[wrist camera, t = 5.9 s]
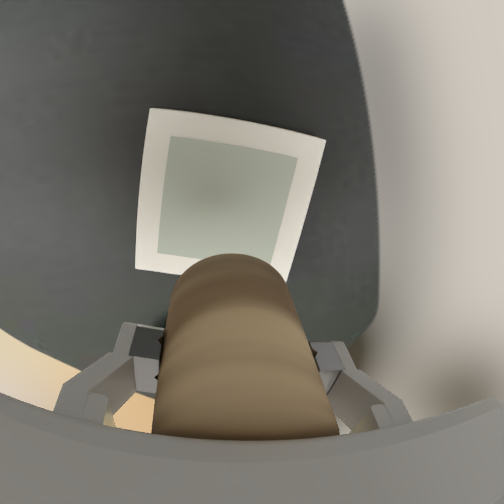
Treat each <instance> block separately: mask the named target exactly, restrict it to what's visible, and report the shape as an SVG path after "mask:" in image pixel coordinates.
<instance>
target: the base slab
mask: <svg viewBox="0 0 504 504" xmlns="http://www.w3.org/2000/svg"><path fill="white" fill-rule="evenodd" d="M325 143H326V140H324V139H321V138H318V137H315V136H311V135H308V134H304V133H300V132H296V131H291V130H287V129H283V128H278V127H274V126H269V125H265V124H260V123H255V122H250V121H245V120H239V119H234V118H228V117H222V116H216V115H209V114H203V113H196V112H188V111H180V110H172V109H162V108H150V111H149V117H148V123H147V130H146V137H145V144H144V152H143V160H142V169H141V179H140V189H139V201H138V215H137V232H136V257H135V269H142V270H149V271H156V272H163V273H170V274H178V275H182V274H183V273H184V272H185V271H186V270H187V269H188V268H189V267H190V266H192V265H193V264H195V263H197V262H198V261H200V260H203V259H205V258H207V257H211V256H214V255H219V254H228V253H236V254H245V255H250V256H253V257H256V258H259V259H261V260H263V261H265V262H267V263H268V264H270V265H271V266H272V267H274V268H275V269H276V270H277V271H278V272H279V273H280V275H281V276H282V277H283V279H284V281H285V282H286V281H287V278H288V274H289V271H290V268H291V264H292V261H293V258H294V255H295V251H296V248H297V244H298V241H299V238H300V234H301V231H302V227H303V224H304V220H305V217H306V213H307V210H308V206H309V203H310V199H311V196H312V192H313V188H314V185H315V181H316V177H317V174H318V170H319V166H320V163H321V159H322V155H323V151H324V147H325Z"/></svg>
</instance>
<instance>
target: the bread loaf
mask: <svg viewBox="0 0 504 504" xmlns="http://www.w3.org/2000/svg"><path fill="white" fill-rule="evenodd" d="M151 434H159V435H167V436H175V437H185V438H197V439H212V440H240V441H264V440H291V439H305V438H317V437H327V436H336V435H339V428H338V425H337V422H336V419H335V417H334V413H333V410H332V408H331V405H330V402H329V399H328V396H327V393H326V391H325V388H324V385H323V382H322V379H321V377H320V374H319V371H318V368H317V366H316V363H315V360H314V357H313V355H312V352H311V349H310V346H309V344H308V341H307V338H306V335H305V333H304V330H303V327H302V325H301V322H300V319H299V317H298V314H297V311H296V308H295V306H294V303H293V300H292V298H291V295H290V292H289V290H288V287H287V285H286V282H285V281H284V279H283V277H282V276H281V275H280V273H279V272H278V271H277V270H276V269H275V268H274V267H272V266H271V265H270V264H268V263H267V262H265V261H263V260H261V259H259V258H256V257H253V256H250V255H245V254H236V253H228V254H219V255H214V256H211V257H207V258H205V259H203V260H200V261H198V262H197V263H195V264H193V265H192V266H190V267H189V268H188V269H187V270H186V271H185V272H184V273H183V274H182V275H181V276H180V277H179V279H178V280H177V282H176V284H175V285H174V288H173V291H172V294H171V300H170V305H169V311H168V316H167V322H166V328H165V335H164V341H163V347H162V353H161V361H160V368H159V374H158V381H157V389H156V397H155V405H154V414H153V423H152V433H151Z"/></svg>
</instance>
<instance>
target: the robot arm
mask: <svg viewBox="0 0 504 504" xmlns="http://www.w3.org/2000/svg"><path fill="white" fill-rule="evenodd" d="M164 335H165V328H159V327H153V326H147V325H141V324H134V323H129V322H124V323H123V324H122V326H121V329H120V332H119V335H118V338H117V341H116V345H115V348H114V351H113V353H110V352H109V353H107V354H106V355H104V356H103V357H102V358H100V359H99V360H97V361H96V362H94V363H93V364H91V365H90V366H89V367H87V368H86V369H84V370H83V371H81V372H80V373H78V374H77V375H76V376H74V377H73V378H71V379H70V380H68V381H67V382H65V383H64V384H63V386H62V389H61V391H60V394H59V397H58V399H57V402H56V405H55V408H54V411H49V410H46V409H43V408H40V407H37V406H34V405H31V404H28V403H25V402H23V401H20V400H17V399H15V398H12V397H10V396H7V395H5V394H2V393H0V504H504V403H502V402H501V401H499V400H497V399H495V398H488V399H485V400H482V401H479V402H477V403H474V404H471V405H468V406H465V407H462V408H459V409H456V410H453V411H450V412H446V413H443V414H440V415H436V416H433V417H429V418H425V419H422V420H417V421H412V419H411V417H410V415H409V413H408V411H407V409H406V407H405V405H404V403H403V401H402V400H401V399H399V398H398V397H397V396H395V395H394V394H392V393H391V392H390V391H388V390H387V389H386V388H384V387H383V386H381V385H380V384H379V383H377V382H376V381H375V380H373V379H372V378H370V377H369V376H368V375H366V374H365V373H364V372H362V371H361V370H357V369H356V367H355V365H354V363H353V361H352V359H351V356H350V354H349V352H348V350H347V348H346V346H345V344H344V343H343V342H342V341H330V342H323V341H308V344H309V346H310V349H311V352H312V355H313V357H314V360H315V363H316V366H317V368H318V371H319V374H320V377H321V379H322V382H323V385H324V388H325V391H326V393H327V396H328V399H329V402H330V405H331V408H332V410H333V412H334V413H335V414H336V415H337V416H338V417H339V418H340V419H341V420H342V421H343V422H344V423H345V424H346V425H347V426H348V427H349V428H350V429H351V430H352V431H351V432H350V433H349V434H344V435H336V436H327V437H317V438H305V439H291V440H264V441H240V440H212V439H197V438H185V437H175V436H167V435H159V434H151V433H145V432H138V431H132V430H126V429H121V428H116V427H115V423H114V419H113V415H114V414H115V413H116V412H117V411H118V409H119V408H120V407H121V406H122V405H123V404H124V403H125V402H126V401H127V400H128V399H129V398H130V397H131V396H132V395H133V394H134V393H135V392H136V391H144V392H152V393H156V389H157V381H158V374H159V368H160V361H161V353H162V347H163V341H164Z"/></svg>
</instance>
